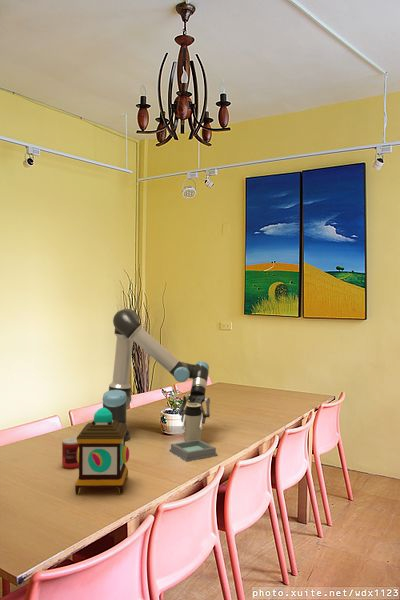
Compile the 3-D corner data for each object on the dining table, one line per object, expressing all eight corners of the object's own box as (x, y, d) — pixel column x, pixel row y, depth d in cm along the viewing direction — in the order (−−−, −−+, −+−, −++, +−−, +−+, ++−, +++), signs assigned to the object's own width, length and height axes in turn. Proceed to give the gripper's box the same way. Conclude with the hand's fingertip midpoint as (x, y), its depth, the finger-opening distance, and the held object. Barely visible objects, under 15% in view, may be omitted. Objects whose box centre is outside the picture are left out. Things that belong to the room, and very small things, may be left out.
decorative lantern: (131, 476, 203) (132, 401, 202) (126, 496, 183) (126, 414, 183) (81, 476, 202) (81, 401, 202) (70, 496, 182) (70, 414, 182)
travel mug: (186, 443, 243) (187, 406, 242) (183, 439, 250) (183, 402, 250) (202, 442, 245) (203, 405, 244) (198, 438, 253) (199, 402, 252)
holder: (186, 461, 221) (186, 453, 220) (169, 451, 234) (169, 443, 234) (217, 455, 229) (217, 448, 229) (199, 446, 242) (199, 439, 242)
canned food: (73, 461, 219) (73, 436, 219) (84, 465, 214) (85, 440, 214) (58, 466, 213) (58, 440, 213) (69, 470, 208) (69, 444, 208)
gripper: (219, 394, 260) (213, 433, 245) (179, 391, 264) (172, 430, 249) (217, 385, 255) (212, 425, 240) (177, 383, 259) (169, 422, 243)
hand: (191, 428), depth 244 cm, fingers closed on travel mug, 8 cm apart
